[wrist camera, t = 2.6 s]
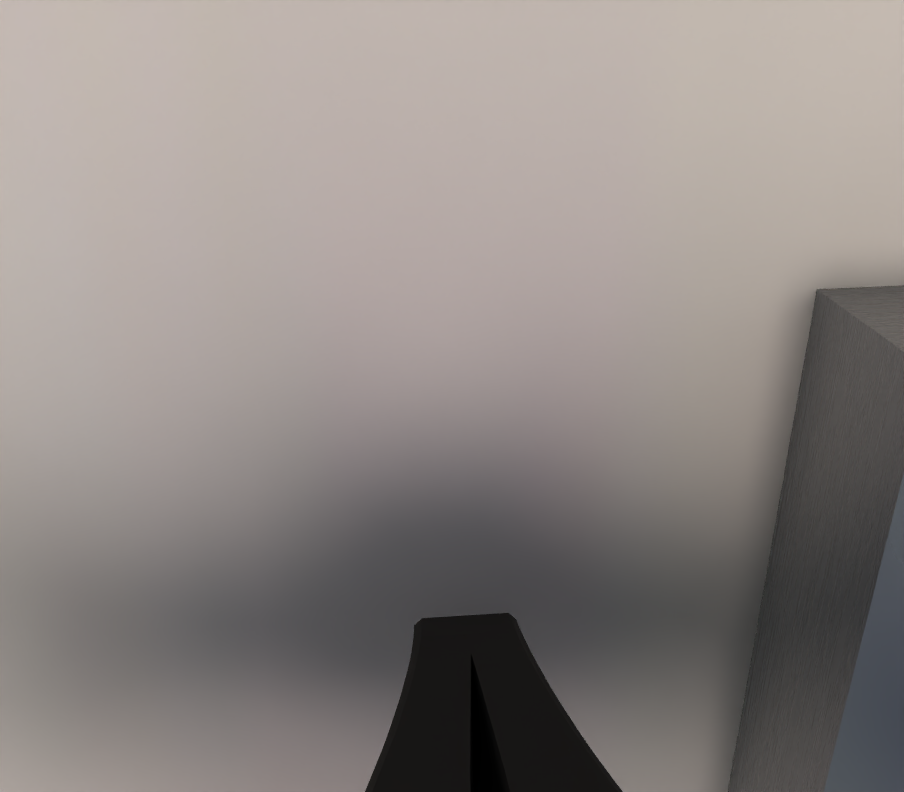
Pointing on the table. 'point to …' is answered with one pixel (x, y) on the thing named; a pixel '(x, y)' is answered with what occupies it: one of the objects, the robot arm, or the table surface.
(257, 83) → the table surface
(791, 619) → the steel slab
